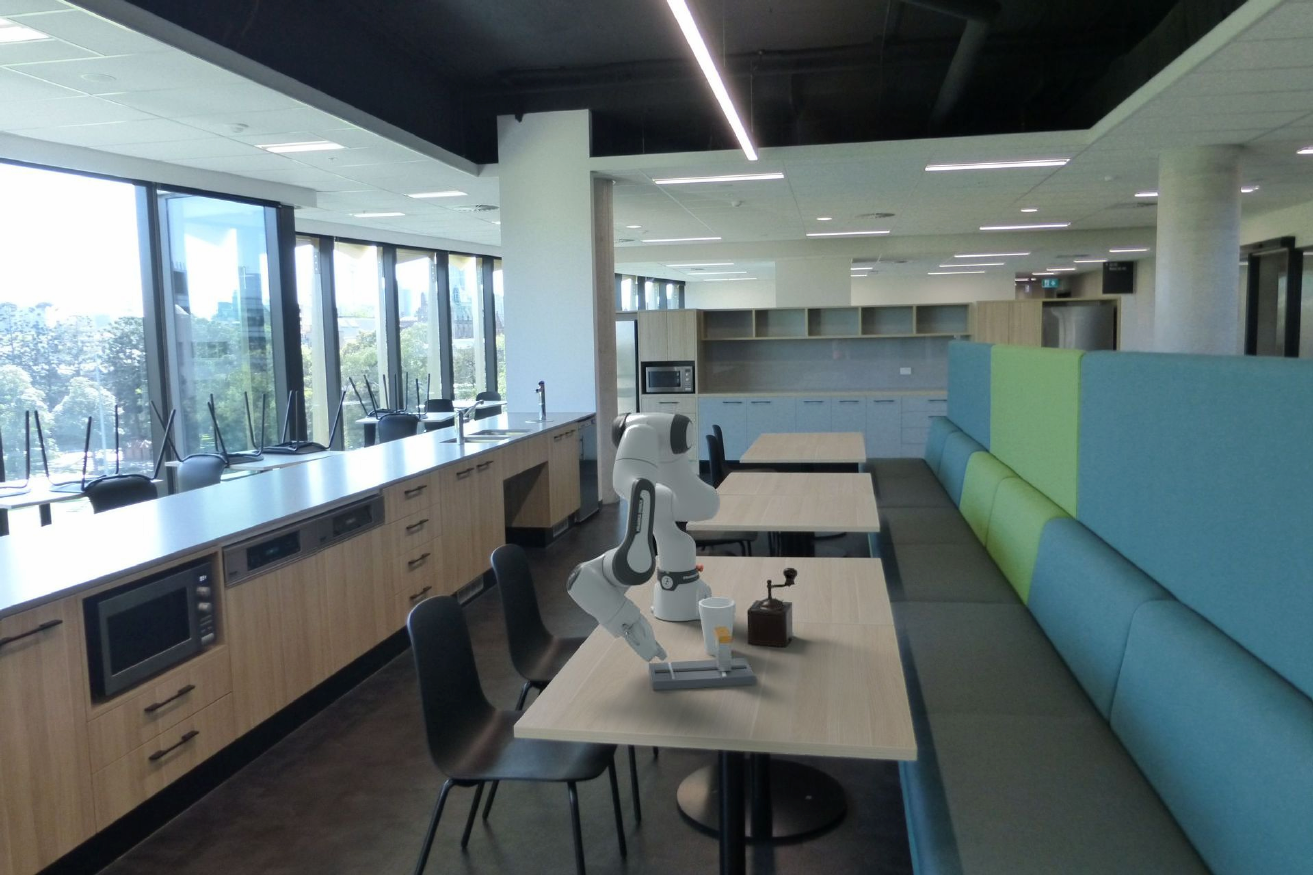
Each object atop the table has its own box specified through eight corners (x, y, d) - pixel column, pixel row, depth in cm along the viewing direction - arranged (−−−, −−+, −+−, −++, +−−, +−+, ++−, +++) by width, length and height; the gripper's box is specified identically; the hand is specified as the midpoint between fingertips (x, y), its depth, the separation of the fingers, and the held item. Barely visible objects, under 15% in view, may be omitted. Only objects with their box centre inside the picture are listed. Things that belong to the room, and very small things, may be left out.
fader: (719, 671, 212) (718, 636, 212) (714, 661, 219) (714, 627, 218) (731, 671, 213) (731, 635, 212) (726, 660, 220) (726, 626, 219)
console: (652, 689, 209) (652, 680, 209) (648, 671, 221) (648, 662, 221) (754, 684, 211) (754, 674, 211) (745, 665, 223) (745, 656, 223)
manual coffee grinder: (788, 648, 235) (787, 581, 233) (746, 644, 238) (745, 578, 236) (799, 629, 249) (799, 566, 247) (760, 626, 253) (759, 563, 251)
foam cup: (706, 659, 228) (705, 609, 227) (694, 647, 237) (693, 599, 235) (741, 655, 230) (740, 605, 229) (728, 643, 239) (728, 595, 238)
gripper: (634, 622, 202) (678, 662, 204) (629, 596, 223) (669, 633, 224) (615, 643, 202) (659, 682, 204) (611, 615, 223) (652, 651, 225)
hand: (664, 656), depth 215 cm, fingers closed
